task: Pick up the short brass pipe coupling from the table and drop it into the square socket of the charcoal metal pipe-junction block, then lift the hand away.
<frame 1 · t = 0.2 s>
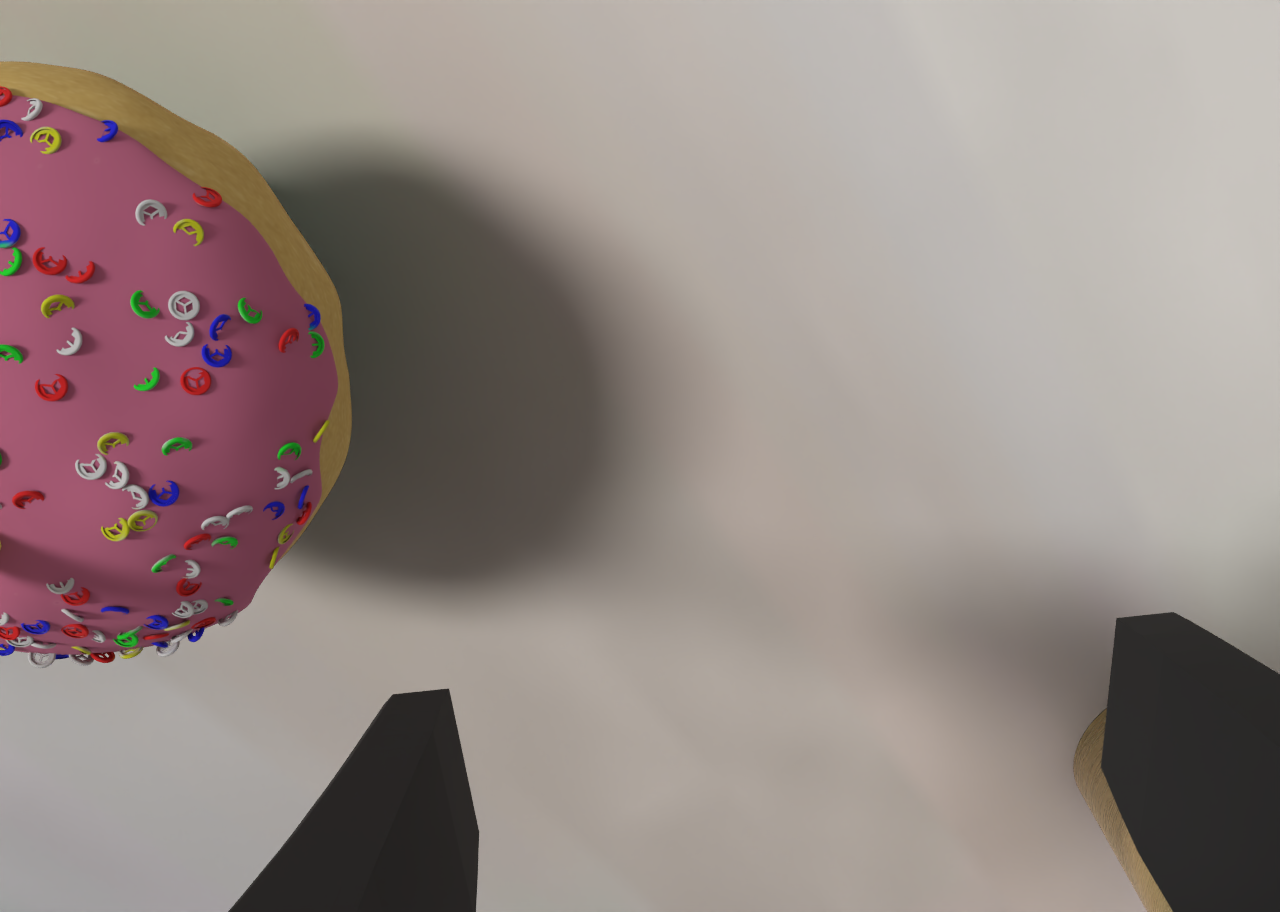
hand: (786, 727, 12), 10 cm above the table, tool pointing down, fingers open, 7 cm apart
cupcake: (151, 283, 20), on the table
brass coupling: (1161, 752, 26), on the table
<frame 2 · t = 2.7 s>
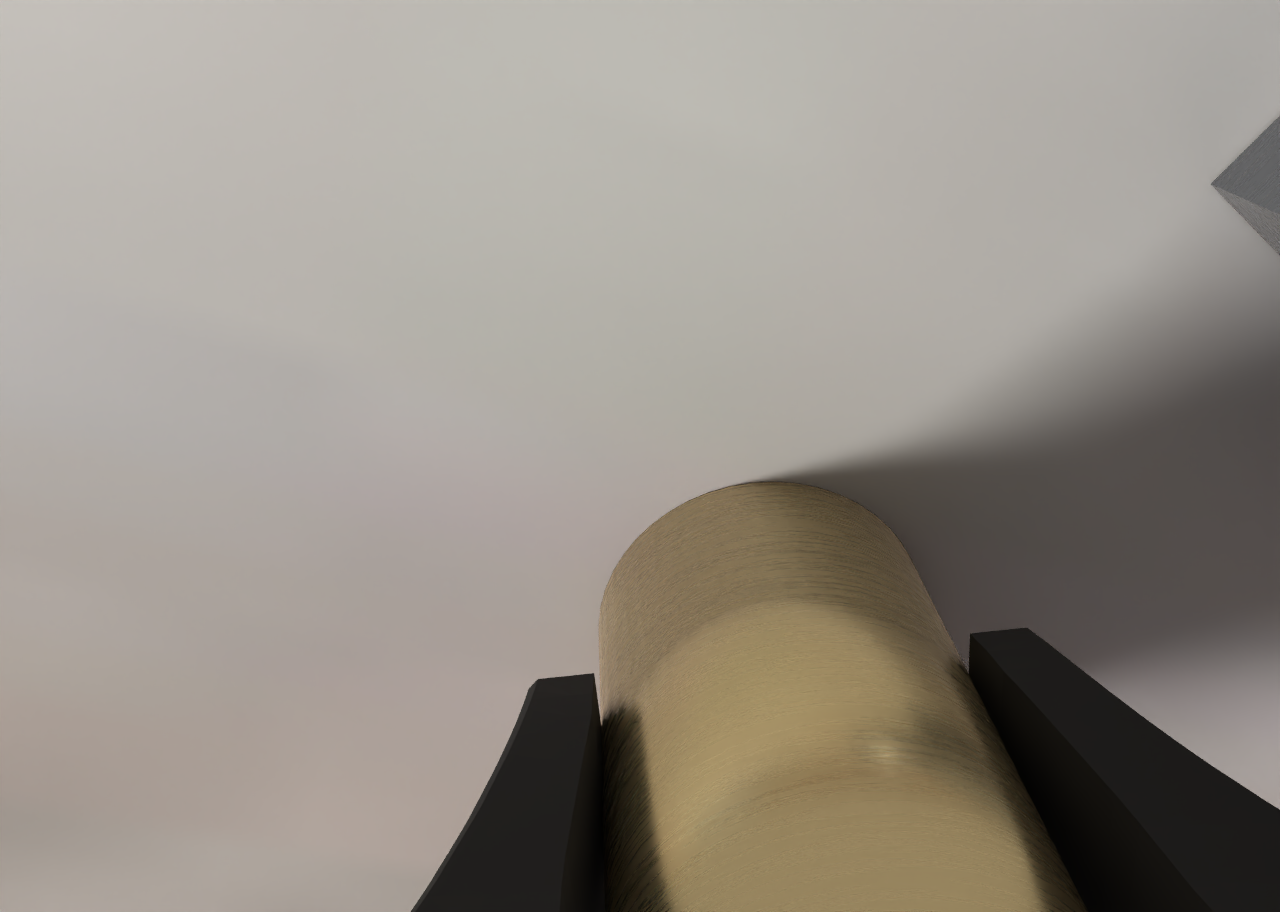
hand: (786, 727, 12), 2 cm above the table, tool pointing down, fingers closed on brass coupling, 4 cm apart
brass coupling: (760, 626, 14), on the table, touching gripper
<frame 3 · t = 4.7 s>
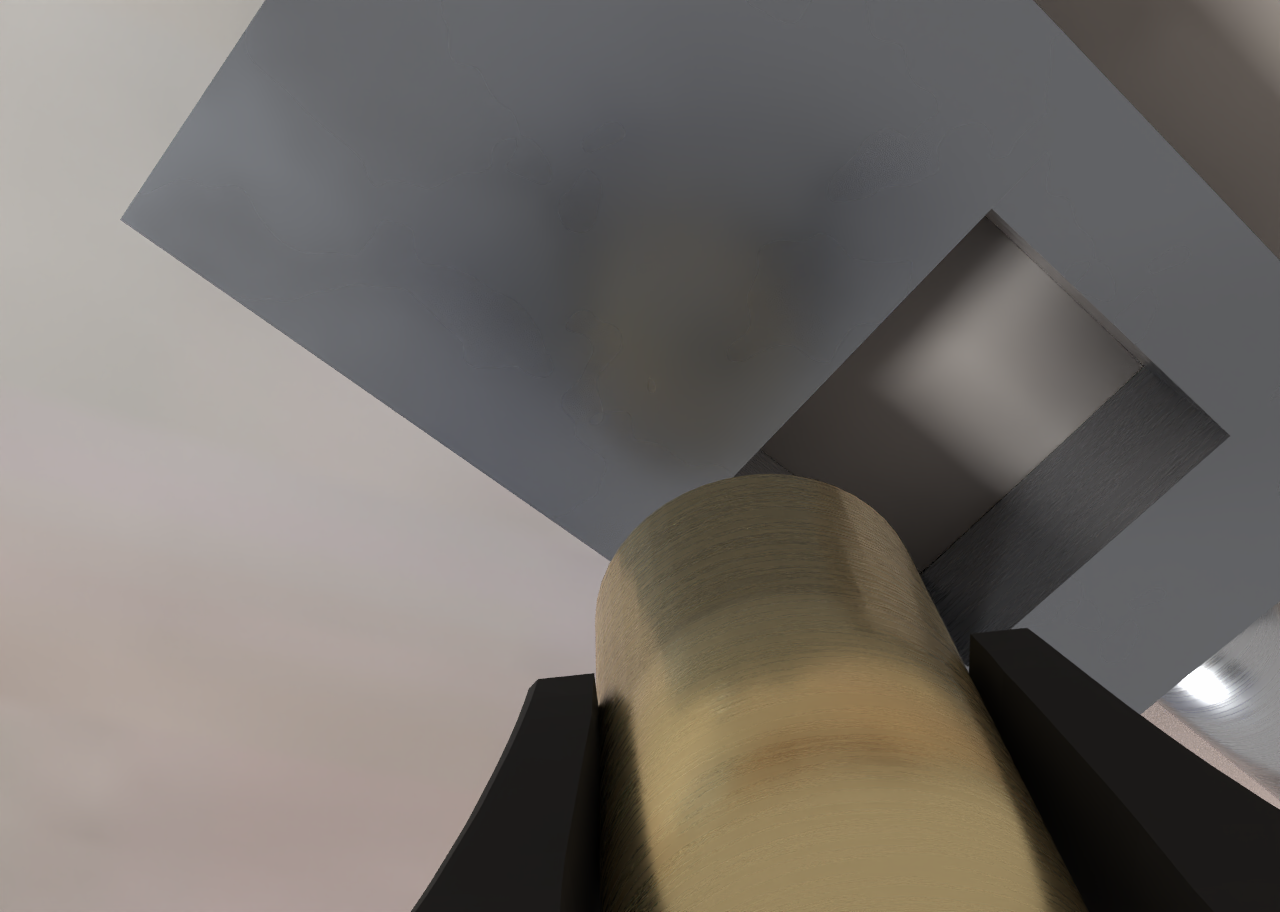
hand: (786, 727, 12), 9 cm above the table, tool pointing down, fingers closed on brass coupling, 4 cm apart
junction block: (806, 284, 19), on the table
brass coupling: (757, 618, 14), point 7 cm above the table, touching gripper
when the fingers open (4 cm above the table, at t = 6.8 s): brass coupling drops 2 cm, resting in junction block.
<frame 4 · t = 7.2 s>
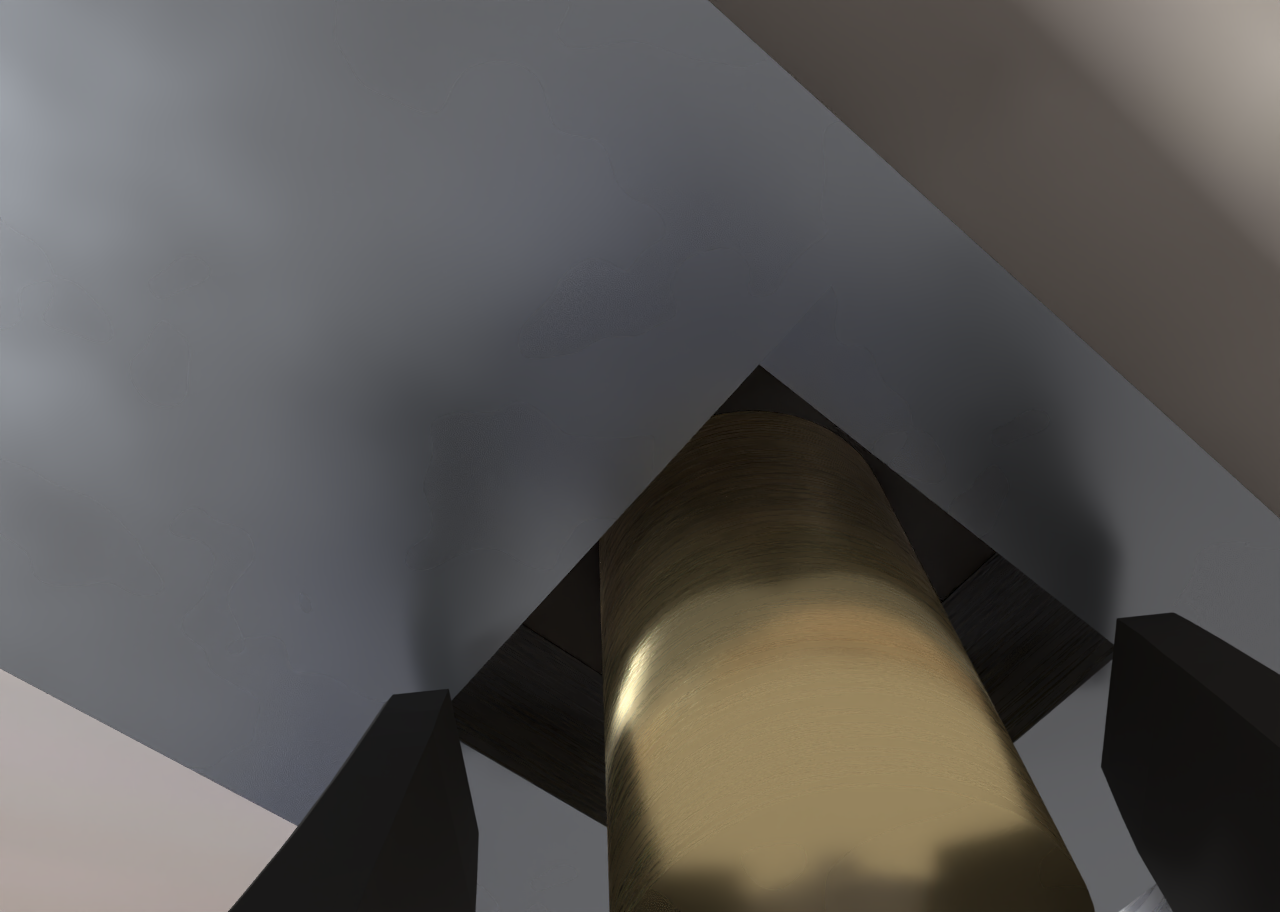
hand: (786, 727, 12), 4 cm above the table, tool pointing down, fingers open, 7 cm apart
junction block: (570, 429, 15), on the table
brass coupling: (744, 544, 16), resting in junction block
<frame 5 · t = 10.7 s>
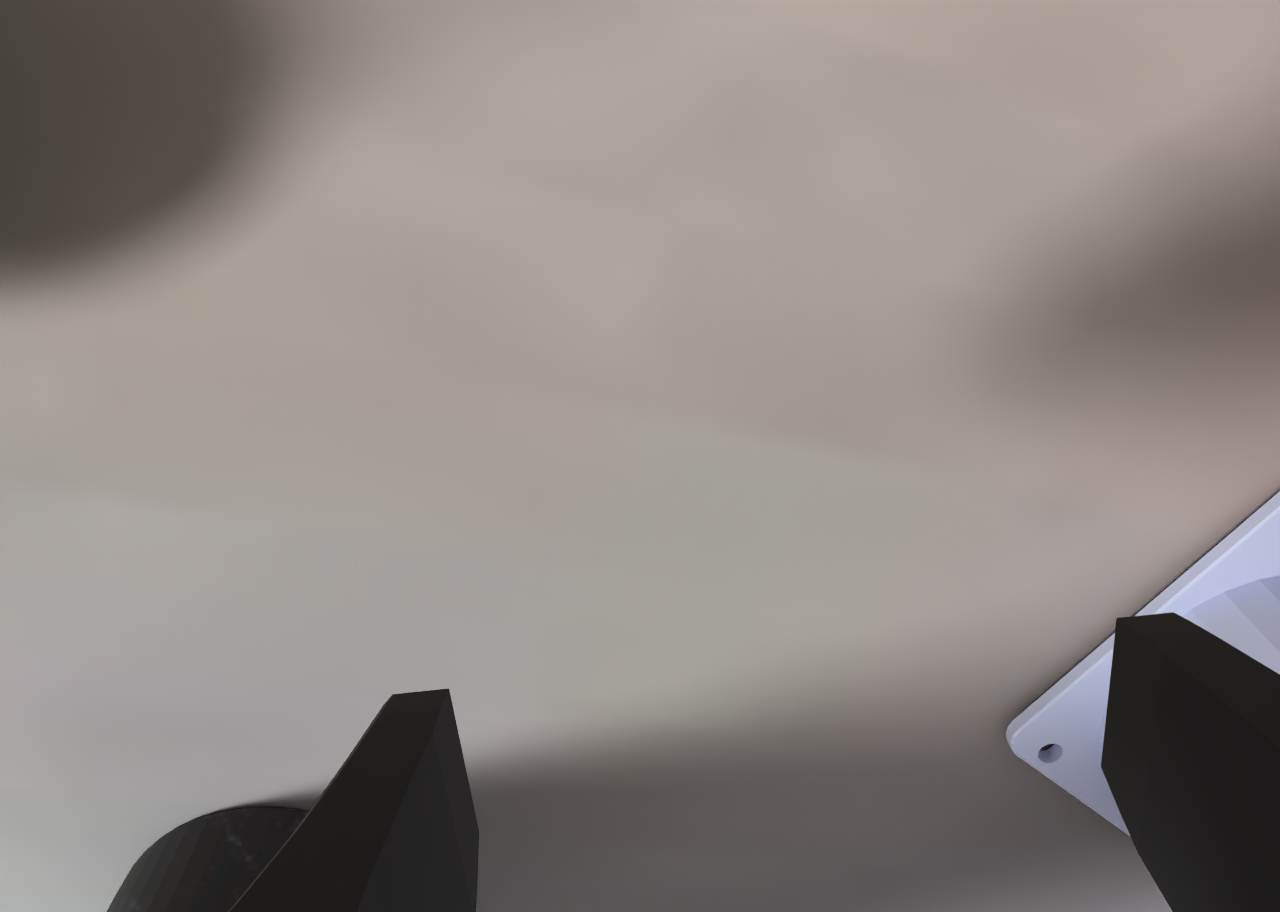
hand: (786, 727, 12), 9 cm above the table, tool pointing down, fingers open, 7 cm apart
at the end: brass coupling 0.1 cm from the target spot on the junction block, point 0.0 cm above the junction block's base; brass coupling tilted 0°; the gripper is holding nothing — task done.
